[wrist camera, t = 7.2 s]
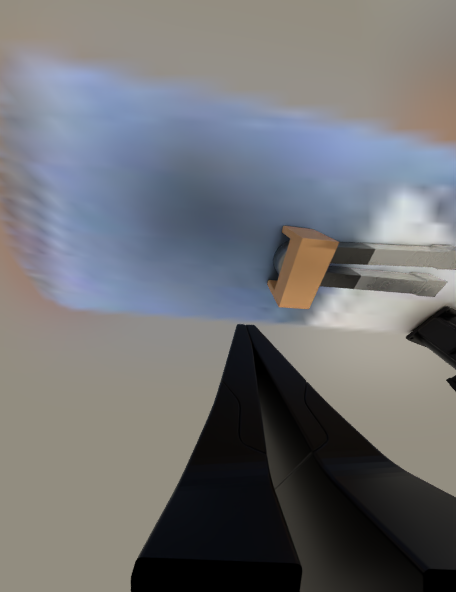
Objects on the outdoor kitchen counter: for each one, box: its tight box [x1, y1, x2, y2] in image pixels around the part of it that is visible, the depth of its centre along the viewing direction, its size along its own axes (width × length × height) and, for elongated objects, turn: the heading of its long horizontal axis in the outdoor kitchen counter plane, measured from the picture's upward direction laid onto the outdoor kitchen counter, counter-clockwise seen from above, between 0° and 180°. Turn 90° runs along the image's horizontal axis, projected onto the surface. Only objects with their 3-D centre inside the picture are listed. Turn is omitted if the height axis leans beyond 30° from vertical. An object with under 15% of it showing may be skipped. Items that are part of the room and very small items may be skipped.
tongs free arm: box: [330, 242, 456, 270], centre depth 18 cm, size 15×2×2 cm, turn 86°
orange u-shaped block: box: [267, 226, 339, 309], centre depth 17 cm, size 3×6×4 cm, turn 173°
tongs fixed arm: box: [273, 241, 447, 297], centre depth 19 cm, size 20×4×2 cm, turn 83°
